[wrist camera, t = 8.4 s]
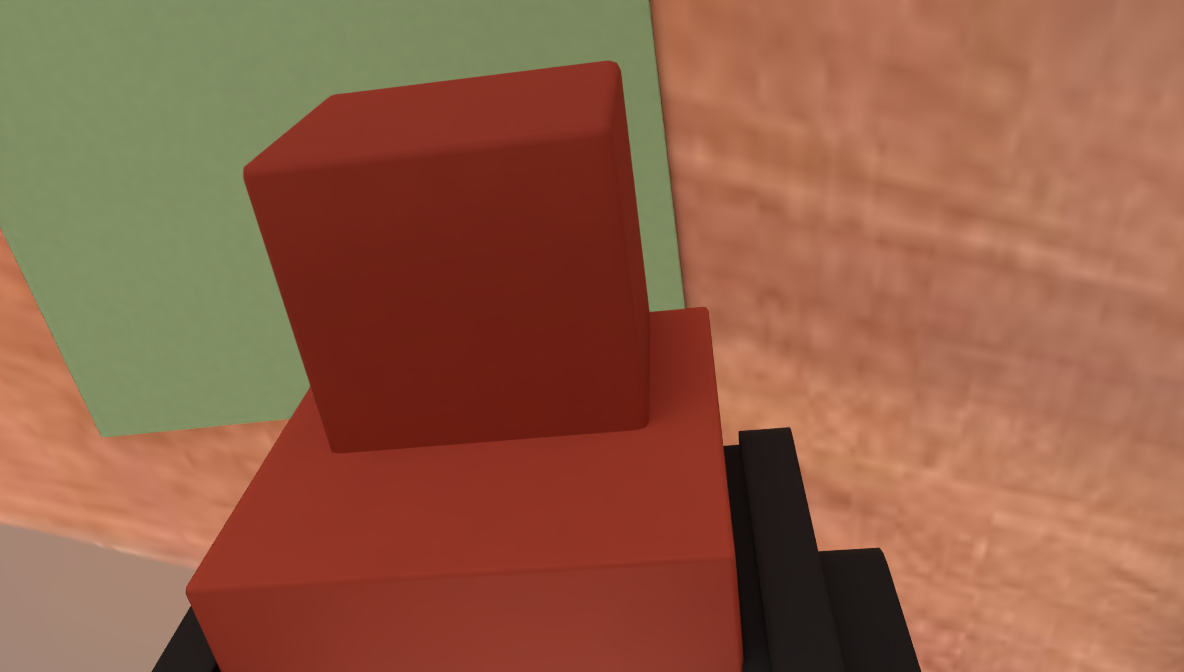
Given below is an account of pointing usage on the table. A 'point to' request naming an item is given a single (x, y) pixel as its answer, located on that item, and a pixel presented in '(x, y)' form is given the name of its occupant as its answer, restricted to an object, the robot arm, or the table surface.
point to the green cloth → (239, 170)
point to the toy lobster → (476, 402)
